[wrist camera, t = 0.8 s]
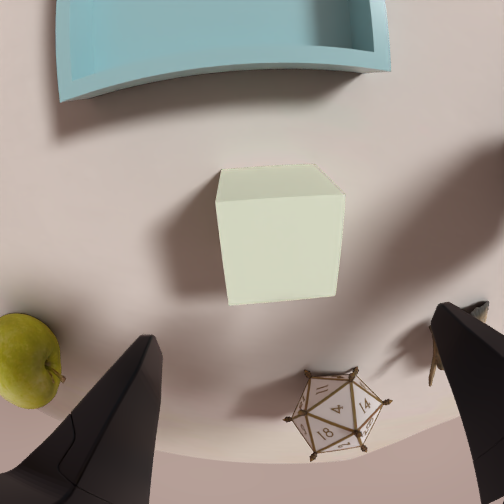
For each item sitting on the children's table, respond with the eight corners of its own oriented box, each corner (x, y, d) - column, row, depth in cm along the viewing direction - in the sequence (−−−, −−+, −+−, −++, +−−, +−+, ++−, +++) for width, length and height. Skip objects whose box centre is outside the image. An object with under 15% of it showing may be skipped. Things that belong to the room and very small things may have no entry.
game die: (316, 337, 27) (363, 359, 17) (371, 379, 27) (427, 409, 17) (258, 406, 26) (277, 459, 16) (319, 442, 26) (355, 493, 16)
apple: (91, 364, 23) (67, 435, 16) (23, 348, 22) (-6, 406, 15) (64, 301, 19) (21, 380, 12) (-7, 290, 18) (-50, 350, 11)
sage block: (314, 163, 15) (345, 194, 11) (312, 244, 18) (335, 295, 13) (221, 168, 15) (215, 202, 11) (230, 250, 18) (228, 305, 13)
